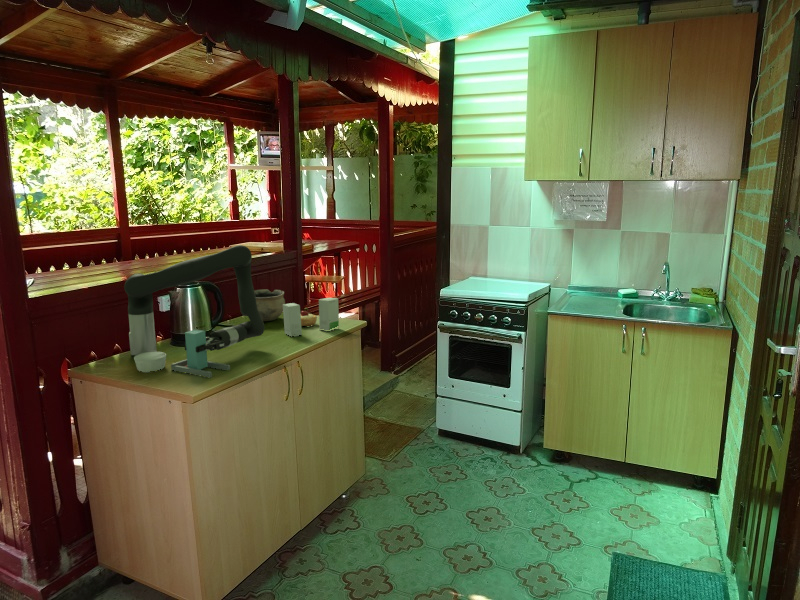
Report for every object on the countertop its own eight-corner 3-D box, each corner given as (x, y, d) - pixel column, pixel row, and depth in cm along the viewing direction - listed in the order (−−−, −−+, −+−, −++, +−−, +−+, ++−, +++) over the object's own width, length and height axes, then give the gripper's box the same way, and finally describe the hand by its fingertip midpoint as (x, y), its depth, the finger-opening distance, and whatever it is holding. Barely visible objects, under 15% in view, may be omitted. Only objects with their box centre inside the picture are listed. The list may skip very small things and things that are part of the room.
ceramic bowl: (294, 318, 286) (293, 290, 283) (268, 326, 266) (267, 297, 264) (261, 314, 295) (260, 288, 292) (234, 322, 275) (232, 294, 272)
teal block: (187, 368, 198) (184, 332, 196) (198, 364, 203) (195, 329, 200) (197, 370, 196) (194, 334, 193) (207, 366, 201) (205, 331, 198)
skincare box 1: (302, 335, 249) (301, 305, 246) (290, 337, 246) (289, 306, 243) (295, 332, 256) (294, 302, 253) (283, 333, 253) (282, 303, 250)
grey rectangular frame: (171, 370, 198) (171, 364, 198) (193, 363, 208) (192, 356, 207) (209, 378, 190) (209, 371, 190) (230, 369, 199) (229, 363, 199)
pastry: (288, 327, 266) (288, 310, 264) (299, 322, 277) (299, 305, 275) (310, 329, 262) (309, 311, 261) (320, 323, 274) (320, 307, 272)
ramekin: (165, 372, 197) (164, 358, 196) (132, 374, 194) (131, 361, 193) (169, 363, 208) (168, 350, 207) (138, 365, 204) (136, 352, 203)
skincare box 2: (328, 332, 256) (328, 300, 253) (318, 330, 259) (317, 299, 256) (339, 328, 263) (339, 298, 260) (329, 327, 266) (328, 296, 263)
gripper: (210, 327, 213) (176, 337, 198) (237, 331, 207) (204, 341, 192) (211, 344, 214) (177, 356, 199) (238, 349, 208) (205, 361, 193)
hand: (190, 348), depth 196 cm, fingers closed on teal block, 5 cm apart
